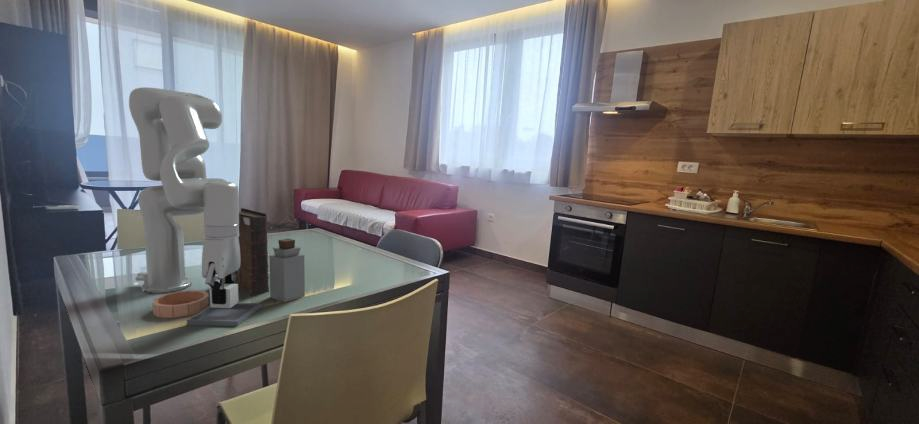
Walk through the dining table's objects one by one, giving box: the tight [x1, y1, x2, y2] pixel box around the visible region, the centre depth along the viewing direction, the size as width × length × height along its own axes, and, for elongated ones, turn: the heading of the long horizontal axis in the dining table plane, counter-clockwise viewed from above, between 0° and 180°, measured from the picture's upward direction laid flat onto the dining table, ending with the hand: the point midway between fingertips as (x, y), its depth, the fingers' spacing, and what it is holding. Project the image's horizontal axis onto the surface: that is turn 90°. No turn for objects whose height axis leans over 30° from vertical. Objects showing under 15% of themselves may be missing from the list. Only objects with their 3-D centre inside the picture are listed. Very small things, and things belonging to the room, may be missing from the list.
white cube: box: [208, 284, 240, 308], centre depth 102 cm, size 5×4×5 cm
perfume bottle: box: [268, 238, 306, 303], centre depth 116 cm, size 7×7×18 cm
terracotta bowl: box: [152, 289, 210, 319], centre depth 105 cm, size 12×12×4 cm
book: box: [234, 207, 270, 295], centre depth 122 cm, size 17×7×25 cm, turn 50°
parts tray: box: [186, 302, 261, 327], centre depth 102 cm, size 12×12×2 cm
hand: (224, 299), depth 102 cm, fingers closed on white cube, 3 cm apart
